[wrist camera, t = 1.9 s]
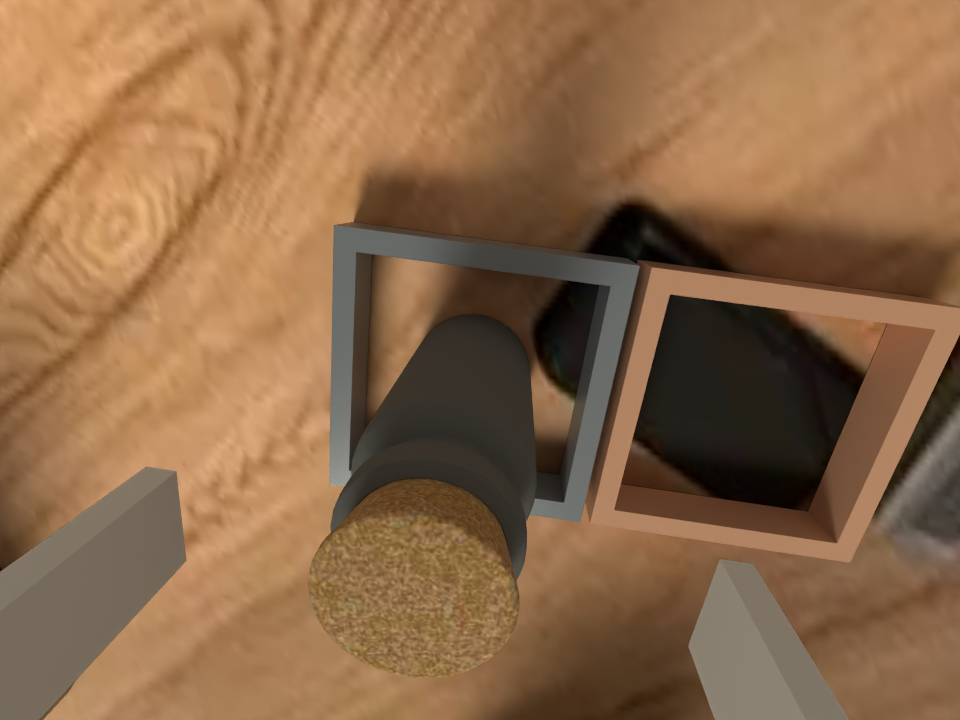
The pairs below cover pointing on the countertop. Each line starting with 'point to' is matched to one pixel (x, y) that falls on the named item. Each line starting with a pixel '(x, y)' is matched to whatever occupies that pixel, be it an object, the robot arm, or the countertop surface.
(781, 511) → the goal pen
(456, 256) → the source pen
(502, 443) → the bottle
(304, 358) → the countertop surface
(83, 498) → the countertop surface
